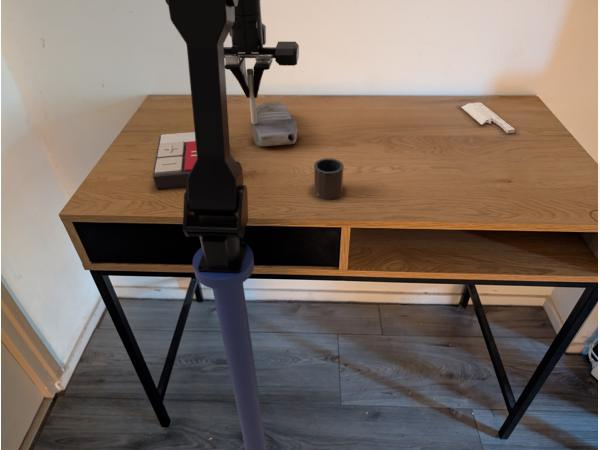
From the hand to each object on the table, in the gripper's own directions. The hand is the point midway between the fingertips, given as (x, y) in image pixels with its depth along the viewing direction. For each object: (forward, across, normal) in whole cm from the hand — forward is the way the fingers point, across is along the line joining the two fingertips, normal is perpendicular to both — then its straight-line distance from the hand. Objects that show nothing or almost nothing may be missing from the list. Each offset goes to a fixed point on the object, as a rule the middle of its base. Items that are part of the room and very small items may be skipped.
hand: (252, 97), depth 86 cm
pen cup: (+10, -16, +17) cm, 26 cm away
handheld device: (+11, -3, -7) cm, 13 cm away
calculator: (+11, +12, +10) cm, 19 cm away
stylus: (+6, 0, 0) cm, 6 cm away
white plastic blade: (+10, -52, -14) cm, 55 cm away
